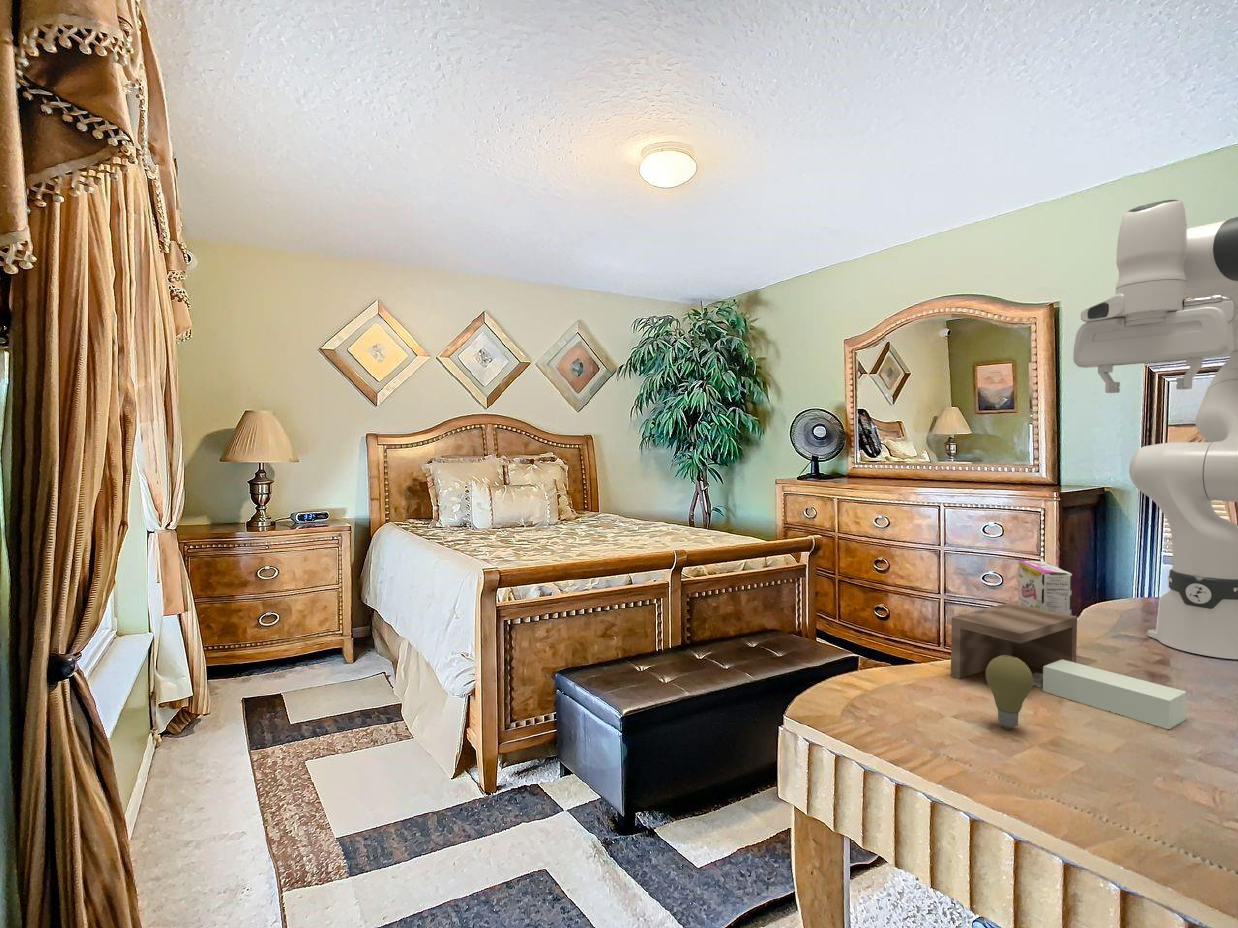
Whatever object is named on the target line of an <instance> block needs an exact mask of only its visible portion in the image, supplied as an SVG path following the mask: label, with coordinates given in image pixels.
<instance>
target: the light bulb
mask: <svg viewBox="0 0 1238 928" xmlns="http://www.w3.org/2000/svg"><path fill="white" fill-rule="evenodd" d="M1032 674H1033V673H1032V671H1031V669H1030V666H1029V665H1026V664H1025V663H1024V662H1023V661H1021V660H1020V659H1018V658H1016V657H1014V656H1009V655H1002V656H998V657H996V658H994V659H993V660H991V661H990V663H989V664H988V666H987V668H986V670H985V678H986V683H987V684H988V687H989V689H990V691H991V693H992V696H993V699H994V703H995V706H996V708H997V722H998V723H999V724H1000V725H1001V726H1002V727H1003V728H1004V729H1006V730H1012V729H1014V728H1016V727H1018V726H1019V713H1020V711H1021V710H1022V707H1023V703H1024V701H1025V699H1026V698H1027V696H1028V695H1029V694H1030V691H1031V690H1032V688H1033V686H1034V685H1033V676H1032Z"/></svg>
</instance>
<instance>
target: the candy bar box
mask: <svg viewBox="0 0 1238 928" xmlns="http://www.w3.org/2000/svg"><path fill="white" fill-rule="evenodd" d="M1072 587H1073V573H1071V572H1069V571H1066V570H1064V569H1062V568H1060V567H1058V566H1056V565H1054V564H1052V563H1049V562H1047V561H1044V560H1043V561H1042V560H1019V561H1018V589H1017V590H1018V595H1017V597H1018V603H1017V604H1018V605H1023V606H1028V607H1033V608H1038V609H1043V610H1047V611H1052V612H1057V613H1062V614H1067V615H1072V601H1073V600H1072V599H1073V597H1072V594H1073V593H1072V592H1073V591H1072Z"/></svg>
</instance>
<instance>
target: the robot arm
mask: <svg viewBox="0 0 1238 928" xmlns="http://www.w3.org/2000/svg"><path fill="white" fill-rule="evenodd" d="M1185 211H1186V209H1185V205H1184V201H1182V200H1180V199H1166V200H1161V201H1156V202H1151V203H1147V204H1144V205H1140V206H1136V207H1134V208H1131V209H1129V210H1128V211H1126V212H1125V213H1124V214H1123V215H1122V218H1121V222H1120V226H1119V230H1118V236H1117V245H1116V246H1117V247H1116V261H1115V262H1116V268H1117V270H1118V281H1117V283H1116V285H1115V295H1112V296H1110V297H1109V298H1106V299H1104V300H1102V301H1099V302H1098V303H1094V304H1093V305H1090V306H1087V307H1086V308H1084V309H1082V310H1081V311H1080V320H1081V321H1082V322H1084V323H1083V324H1082V325H1080V326H1079V328H1078V329H1077V331H1076V333H1075V339H1074V346H1073V353H1072V354H1073V357H1072V358H1073V359H1072V360H1073V364H1074V365H1076V366H1077V367H1078V368H1083V369H1089V368H1097V374H1098V375H1099V377H1100V378H1101V379H1102V381H1103V382H1104V383H1105V384H1104V385H1105V386H1104V387H1105V388H1104V391H1105V393H1106V394H1118V393H1120V392H1121V389H1120V387H1121V382H1120V381H1114V379H1113V378H1112V376H1111V374H1112V373H1113V371H1114V370H1113V369H1114V366H1127V365H1129V366H1130V365H1140V364H1151V363H1163V362H1177V361H1185V366H1187V367H1189V368H1188V370H1187V371H1186V372H1185V374H1184V375H1183V377H1177V378H1176V386H1175V388H1176V390H1181V391H1182V390H1192V389H1193V378H1195V377H1196V375H1197V373H1198V372H1200V369H1201V368H1202V367H1203V359H1212V358H1213V359H1214V358H1215V359H1216V358H1226V357H1229V359H1228V360H1226V362H1225V363H1224V364H1222V366H1221V367H1220V368H1219V370H1218V371H1217V372H1216V374H1215V375H1214V376H1213V378H1212V380H1211V382H1210V383H1209V385H1208V387H1207V389H1206V391H1205V394H1204V396H1203V398H1202V401H1201V404H1200V406H1199V409H1198V410H1197V413H1196V416H1195V422H1194V423H1195V427H1196V429H1197V431H1198V433H1199V434H1200V436H1202V437H1203V438H1204V439H1206V441H1173V442H1172V441H1169V442H1164V443H1155V444H1150V445H1145V446H1142V447H1140V448H1139V449H1138V450H1137V451H1136V452H1135V454H1134V455H1133V456H1132V458H1131V460H1130V462H1129V469H1128V473H1129V477H1130V479H1131V482H1132V484H1133V485H1134V486H1135V488H1136V489H1137V490H1139V492H1141V493H1142V494H1144V495H1145V496H1147V497H1148V498H1149V499H1151V501H1153V502H1154V503H1155V505H1157V507H1158V508H1159V510H1160V511H1162V513H1163V515H1164V517H1165V519H1166V520H1167V523H1168V526H1169V529H1170V534H1171V546H1172V549H1171V550H1172V563H1171V564H1172V565H1171V566H1172V568H1171V569H1170V570H1169V571H1168V572H1169V575H1168V577H1167V580H1168V588H1169V591H1168V592H1166V593H1164V594H1163V595H1161V596H1160V597H1159V599H1158V608H1157V616H1156V625H1155V626H1156V628H1154V629H1153V628H1152V629H1148V630H1147V632H1146V636H1147V637H1150V638H1153V639H1154V640H1158V641H1159V642H1160V643H1161V644H1163V645H1164V646H1168V647H1171V648H1173V649H1176V650H1179V651H1183V652H1187V653H1192V654H1195V655H1196V654H1197V655H1200V656H1201V655H1202V656H1207V657H1213V658H1219V659H1227V660H1228V659H1229V660H1238V524H1236V523H1234V522H1233V521H1230V520H1228V519H1225V518H1223V517H1221V516H1220V515H1218V514H1217V512H1216V511H1215V510H1214V508H1213V505H1212V502H1215V501H1216V502H1231V503H1233V502H1235V503H1238V216H1235V217H1231V218H1229V219H1226V220H1221V221H1217V222H1213V223H1212V222H1211V223H1207V224H1204V225H1202V224H1201V225H1198V226H1193V227H1188V226H1187V218H1186V217H1187V216H1186V212H1185ZM1187 297H1189V298H1187ZM1110 373H1111V374H1110Z"/></svg>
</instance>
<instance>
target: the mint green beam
mask: <svg viewBox="0 0 1238 928" xmlns="http://www.w3.org/2000/svg"><path fill="white" fill-rule="evenodd" d="M1042 674H1043V687H1042V692H1043V691H1044V693H1047V694H1051V695H1054V696H1057V697H1060V698H1064V699H1066V700H1070V701H1074V702H1077V703H1079V704H1083V705H1087V706H1089V707H1092V708H1097V709H1100V710H1103V711H1106V710H1107V712H1109V711H1111V712H1110V713H1113V714H1116V713H1117V715H1119V714H1120V715H1119V716H1122V715H1123V717H1126V718H1129V719H1130V718H1131V719H1133V720H1136V721H1139V722H1143V723H1146V724H1150V725H1152V726H1156V727H1159V728H1163V729H1166V730H1168V729H1169V730H1170V729H1172V728H1175V727H1176V726H1177V725H1179V724H1181V723H1182V722H1184V721H1186V720H1187V700H1188V698H1187V697H1188V692H1187V691H1186V690H1182V689H1178V688H1174V687H1170V686H1167V685H1162V684H1159V683H1155V682H1151V681H1148V680H1143V679H1139V678H1137V677H1136V678H1135V677H1131V676H1128V675H1124V674H1120V673H1116V672H1112V671H1108V670H1105V669H1100V668H1096V667H1094V666H1089V665H1085V664H1082V663H1078V662H1076V663H1074V662H1070V661H1066V660H1063V659H1062V660H1059V661H1056V662H1054V663H1051V664H1048V665H1045V666H1043V669H1042Z"/></svg>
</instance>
